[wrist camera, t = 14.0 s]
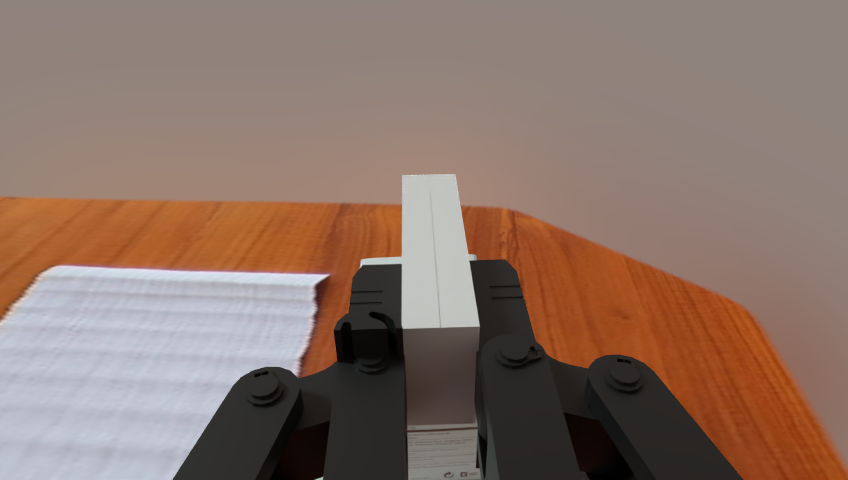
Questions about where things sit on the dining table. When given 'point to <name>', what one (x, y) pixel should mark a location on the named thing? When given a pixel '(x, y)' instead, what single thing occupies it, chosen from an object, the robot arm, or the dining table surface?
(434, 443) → the supplement box
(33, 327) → the dining table surface
